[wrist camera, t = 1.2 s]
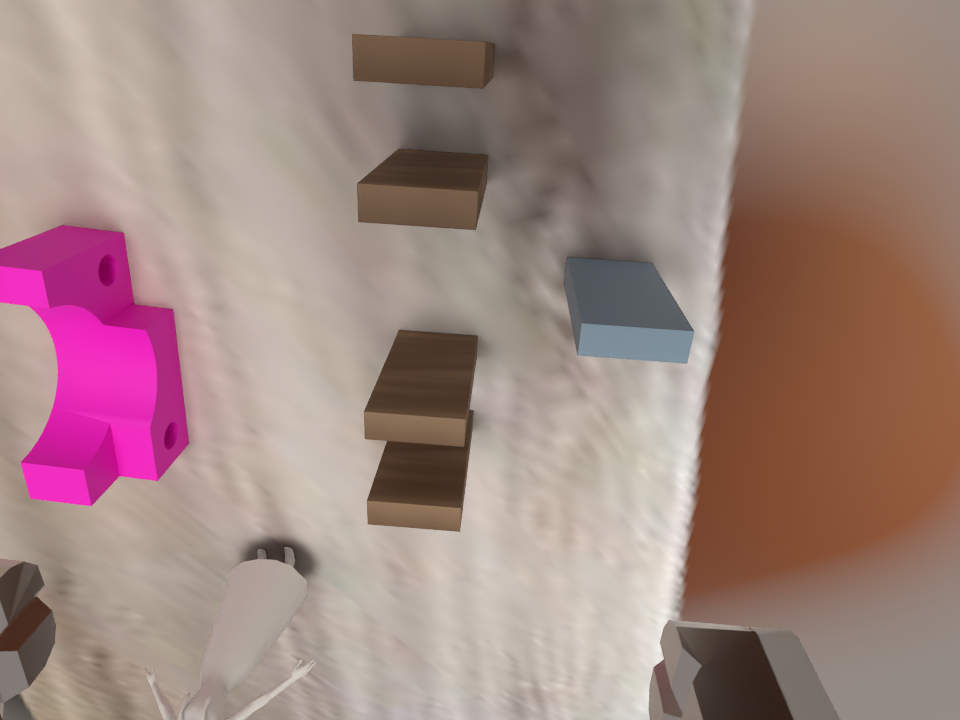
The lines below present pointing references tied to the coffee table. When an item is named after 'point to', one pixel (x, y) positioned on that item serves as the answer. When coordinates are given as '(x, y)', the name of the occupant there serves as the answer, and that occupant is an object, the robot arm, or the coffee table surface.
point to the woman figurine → (243, 637)
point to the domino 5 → (624, 312)
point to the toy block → (97, 366)
